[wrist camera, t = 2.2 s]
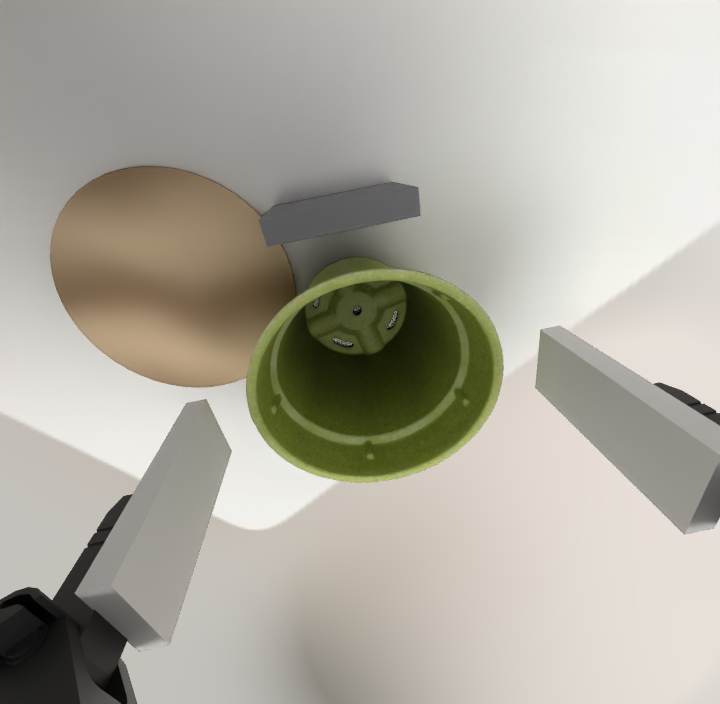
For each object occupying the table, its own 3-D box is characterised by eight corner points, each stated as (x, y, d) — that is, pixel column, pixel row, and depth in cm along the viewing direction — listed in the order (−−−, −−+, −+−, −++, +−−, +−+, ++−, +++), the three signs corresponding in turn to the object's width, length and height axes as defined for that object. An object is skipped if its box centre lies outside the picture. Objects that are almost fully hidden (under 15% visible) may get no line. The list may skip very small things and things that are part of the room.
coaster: (-5, 194, 15) (-10, 195, 15) (256, 143, 15) (255, 142, 15) (130, 401, 21) (128, 404, 21) (317, 362, 21) (317, 365, 21)
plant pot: (398, 389, 23) (438, 497, 15) (258, 357, 21) (225, 466, 13) (460, 257, 19) (554, 316, 12) (296, 199, 17) (279, 225, 9)
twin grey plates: (273, 205, 17) (258, 219, 12) (391, 181, 17) (418, 187, 12) (329, 403, 23) (331, 458, 19) (415, 385, 23) (437, 436, 19)
